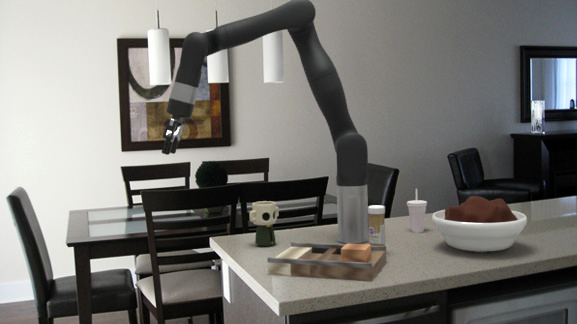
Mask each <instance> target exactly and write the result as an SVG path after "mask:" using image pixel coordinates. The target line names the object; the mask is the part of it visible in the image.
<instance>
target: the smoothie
mask: <svg viewBox="0 0 577 324" xmlns="http://www.w3.org/2000/svg"><path fill="white" fill-rule="evenodd" d="M427 205H428V202H427V200H420V199H419V200H418V188H415V199H413V200H408V201H406V206H407V209H408V214H409V222H410V228H411V232H412V233H417V234H418V233H419V234H420V233H423V232H424V230H425V222H426V221H425V219H426V209H427Z"/></svg>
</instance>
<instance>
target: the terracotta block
mask: <svg viewBox="0 0 577 324" xmlns="http://www.w3.org/2000/svg"><path fill="white" fill-rule="evenodd" d="M344 245H345V246H344V247H342V248H341V261H345V262H363V263H368V261H369V260H370V259H371V244H369V243H367V244H364V243H355V244H350V243H345V244H344Z"/></svg>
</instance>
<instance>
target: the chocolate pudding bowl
mask: <svg viewBox="0 0 577 324" xmlns="http://www.w3.org/2000/svg"><path fill="white" fill-rule="evenodd" d="M431 221H432V223H433V225H434V227H435V228H436V229H437V230H438V232H439V233H441V235H442V237H443V240H444V242H445V243H446V244H447V245H448V246H450V247H452V248H454V249H458V250H463V251H467V250H468V252H472V251H475V252H474V253H488V252H487V251H490V252H498V251H504V250H506V249H509V248H511V247H513V244H514V243H515V241H516V238H517V237H518V235H519V234H520V233H521V232H522V231H523V230H524V229H525V227H526V225H527V223H528V216H526V214H524V213H522V212H519V211H516V210H511V208H510V206H509V205H508V204H507V203H506V201H504V199H503V198H495V199H492V200H489V199H487V198H485V197H483V196H478V195H477V196H476V195H471V196H468V198H466V200H465V202H462V203H460V204H459V205H457V206H448V207H446V208H445V209H441V210H438V211H436V212H433V214H432V216H431Z"/></svg>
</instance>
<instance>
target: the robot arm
mask: <svg viewBox="0 0 577 324" xmlns="http://www.w3.org/2000/svg"><path fill="white" fill-rule="evenodd" d="M316 14H317V13H316V7H315V5H314V4H313V2H312V1H311V0H290V1H287V2H286V3H283V4H281V5H279V6H277V7H275V8H273V9H269V10H268V11H266V12H262V13H260V14H256V15H253V16H249V17H245V18H241V19H237V20H234V21H231V22H229V23H228V22H227V23H224V24H221V25H218V26H217V27H215V28H214V29H212V30H209V31H208V30H207V31H206V32H202V33H201V32H199V31H193V32H190V33H188V34H187V35H186V37H184V41H183V43H182V48H181V53H180V59H179V60H180V61H179V65H178V67H177V70H176V74H175V79H174V83H173V84H172V87H171V90H170V95H169V98H168V102H167V106H166V110H165V112H166V113H167V114H169V115H171V117H168V118H167V122H166V126H165V130H164V133H163V135H162V138H163V140H164V141H163V145H162V148H161V149H162V150H161V153H162V154H164V155H165V156H166V155H170V154H173V155H174V154H176V153H177V148H178V144H179V142H180V141H181V140H182V136H183V133H184V128H185V124H186V120H184V119H189V120H190V119H191V118H192V116H193V113H194V108H195V106H196V105H195V104H196V101H197V97H198V90H199V86H200V81H201V77H202V68H203V66H204V62H205V59H206V57H209V56H211V55H214V54H216V53H218V52H221V51H225V50H229V49H233V48H236V47H239V46H243V45H245V44H248V43H250V42H253V41H255V40H258V39H259V38H262V37H264V36H267V35H270V34H273V33H276V32H279V31H280V32H281V31H285V30H287V32H288V34H289V36H290V38H291V39H292V42H293V44H294V46H295V47H296V50H297V52H298V56H299V58H300V62H301V66H302V68H303V72H304V74H305V77H306V81H307V82H308V85H309V88H310V90H311V92H312V96H313V97H314V99H315V102H316V104H317V105H318V108H319V110H320V112H321V114H322V116H323V117H324V119H325V121H326V124H327V126H328V129H329V133H330V135H331V140H332V143H333V147H334V152H335V155H336V204H337V205H336V207H337V208H336V209H337V211H336V213H337V236H338V237H337V238H338V242H339V243H342V244H347V243H349V244H364V243H367V242H369V215H368V214H369V213H368V207H369V206H368V205H369V204H368V202H369V201H368V176H369V160H368V159H369V156H368V155H369V154H368V153H369V150H368V144H367V141H366V139H365V138H364V136H362V135H361V134H360V133H359V132H358V130H357V128H356V126H355V124H354V122H353V119H352V117H351V115H350V111H349V107H348V104H347V98H346V94H345V91H344V90H345V89H344V87H343V83H342V81H341V79H340V76H339V72H338V71H337V68H336V66H335V64H334V63H333V61H332V59H331V57H330V56H329V54H328V53H327V52H326V50H325V49H324V47H323V45H322V43H321V41H320V39H319V36H318V33H317V30H316V27H315V22H314V21H315V18H316Z"/></svg>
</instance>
